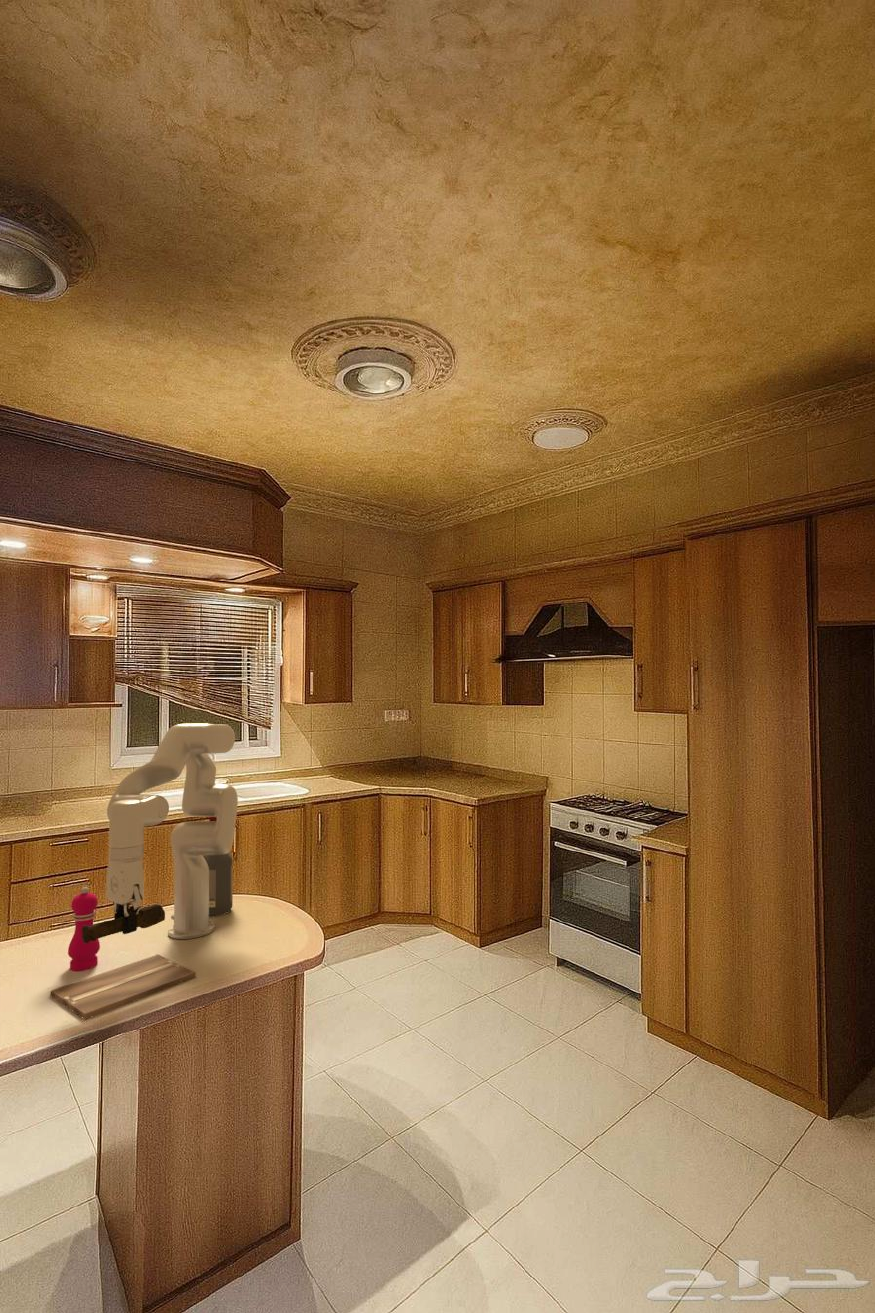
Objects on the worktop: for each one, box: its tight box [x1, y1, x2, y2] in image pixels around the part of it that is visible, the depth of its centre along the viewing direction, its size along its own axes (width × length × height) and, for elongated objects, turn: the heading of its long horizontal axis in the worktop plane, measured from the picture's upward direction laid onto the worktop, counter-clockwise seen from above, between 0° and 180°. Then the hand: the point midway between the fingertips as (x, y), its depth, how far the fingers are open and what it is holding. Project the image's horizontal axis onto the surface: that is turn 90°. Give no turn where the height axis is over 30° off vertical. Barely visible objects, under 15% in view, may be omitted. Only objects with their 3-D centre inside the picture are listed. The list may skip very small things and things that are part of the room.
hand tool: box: [82, 904, 166, 943], centre depth 157 cm, size 19×4×5 cm, turn 135°
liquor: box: [203, 817, 234, 918], centre depth 210 cm, size 9×9×30 cm
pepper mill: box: [67, 886, 101, 972], centre depth 169 cm, size 7×7×20 cm
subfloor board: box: [50, 954, 197, 1020], centre depth 157 cm, size 18×26×1 cm
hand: (125, 929), depth 158 cm, fingers closed on hand tool, 3 cm apart
